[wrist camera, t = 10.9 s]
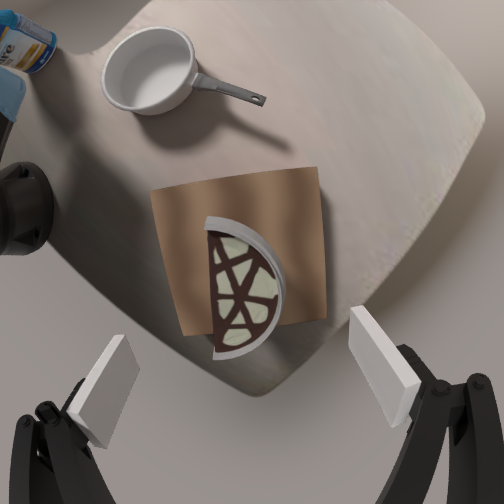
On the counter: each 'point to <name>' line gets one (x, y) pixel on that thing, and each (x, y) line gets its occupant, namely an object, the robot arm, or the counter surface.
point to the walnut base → (258, 219)
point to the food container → (242, 287)
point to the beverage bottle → (24, 43)
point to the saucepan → (159, 73)
